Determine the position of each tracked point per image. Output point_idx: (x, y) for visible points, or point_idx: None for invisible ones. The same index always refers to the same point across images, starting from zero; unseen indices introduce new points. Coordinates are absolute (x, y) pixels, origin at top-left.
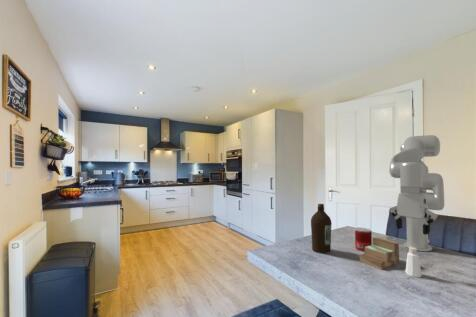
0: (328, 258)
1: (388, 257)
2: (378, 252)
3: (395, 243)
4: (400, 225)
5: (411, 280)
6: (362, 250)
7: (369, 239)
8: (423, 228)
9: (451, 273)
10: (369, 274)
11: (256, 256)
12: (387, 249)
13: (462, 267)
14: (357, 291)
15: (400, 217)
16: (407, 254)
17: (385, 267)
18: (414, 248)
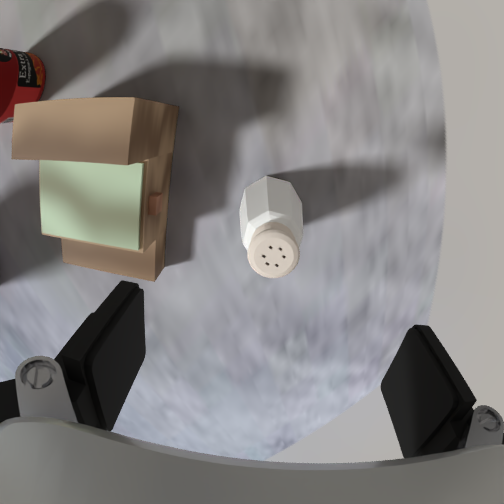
0: (30, 309)
1: (151, 221)
2: (106, 245)
3: (127, 143)
4: (130, 345)
5: (280, 279)
6: None
7: (2, 88)
8: (399, 432)
9: (383, 55)
10: (164, 339)
11: None
12: (112, 168)
13: None
14: (205, 432)
15: (67, 406)
16: (242, 240)
17: (165, 236)
18: (285, 259)
